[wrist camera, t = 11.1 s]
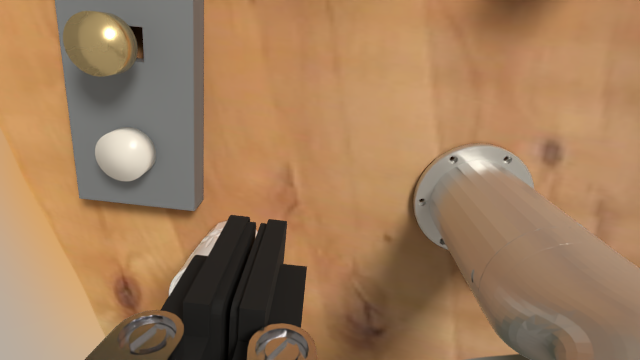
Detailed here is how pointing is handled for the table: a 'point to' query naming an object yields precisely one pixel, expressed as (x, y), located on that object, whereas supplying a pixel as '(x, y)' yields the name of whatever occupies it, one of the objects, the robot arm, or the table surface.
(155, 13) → the knob mount
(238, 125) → the table surface
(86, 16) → the brass knob
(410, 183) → the table surface
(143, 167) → the white knob
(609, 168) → the table surface
